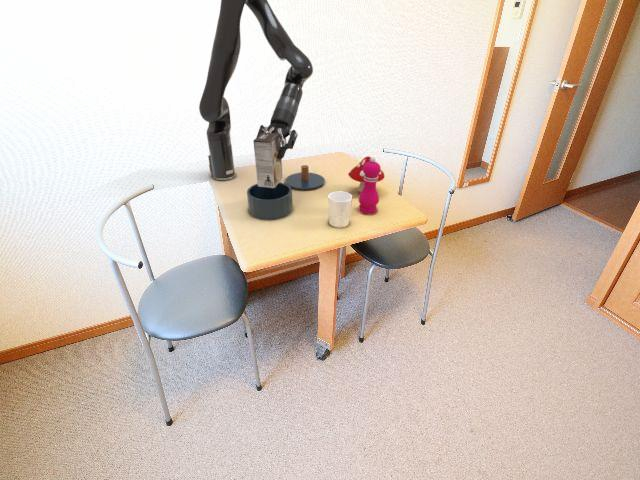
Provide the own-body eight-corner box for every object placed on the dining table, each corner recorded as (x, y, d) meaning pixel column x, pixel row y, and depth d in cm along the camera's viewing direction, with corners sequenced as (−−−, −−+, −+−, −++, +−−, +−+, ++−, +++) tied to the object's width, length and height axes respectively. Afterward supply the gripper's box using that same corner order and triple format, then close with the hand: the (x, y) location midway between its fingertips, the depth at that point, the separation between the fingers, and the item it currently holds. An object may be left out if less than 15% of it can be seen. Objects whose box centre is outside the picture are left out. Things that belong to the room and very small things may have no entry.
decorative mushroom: (341, 195, 139) (343, 159, 131) (354, 183, 150) (356, 148, 142) (376, 203, 134) (380, 165, 126) (386, 189, 145) (390, 153, 137)
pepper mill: (356, 206, 132) (360, 153, 121) (375, 205, 132) (381, 153, 122) (359, 215, 126) (364, 161, 115) (379, 214, 126) (386, 161, 116)
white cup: (343, 231, 117) (345, 203, 111) (323, 224, 120) (323, 197, 115) (354, 221, 122) (356, 194, 117) (334, 215, 126) (335, 189, 120)
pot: (254, 223, 120) (252, 203, 116) (245, 203, 133) (242, 185, 128) (298, 215, 125) (297, 196, 121) (284, 197, 138) (284, 179, 133)
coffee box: (265, 176, 128) (262, 131, 119) (283, 178, 126) (280, 133, 118) (257, 186, 120) (252, 139, 111) (275, 188, 119) (272, 141, 110)
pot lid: (292, 193, 140) (291, 176, 137) (280, 177, 153) (279, 162, 149) (330, 187, 146) (331, 170, 142) (316, 172, 159) (316, 157, 155)
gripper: (262, 104, 121) (246, 148, 118) (299, 109, 116) (283, 154, 113) (271, 117, 128) (256, 158, 125) (307, 121, 123) (292, 165, 120)
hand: (269, 156), depth 119 cm, fingers closed on coffee box, 7 cm apart
